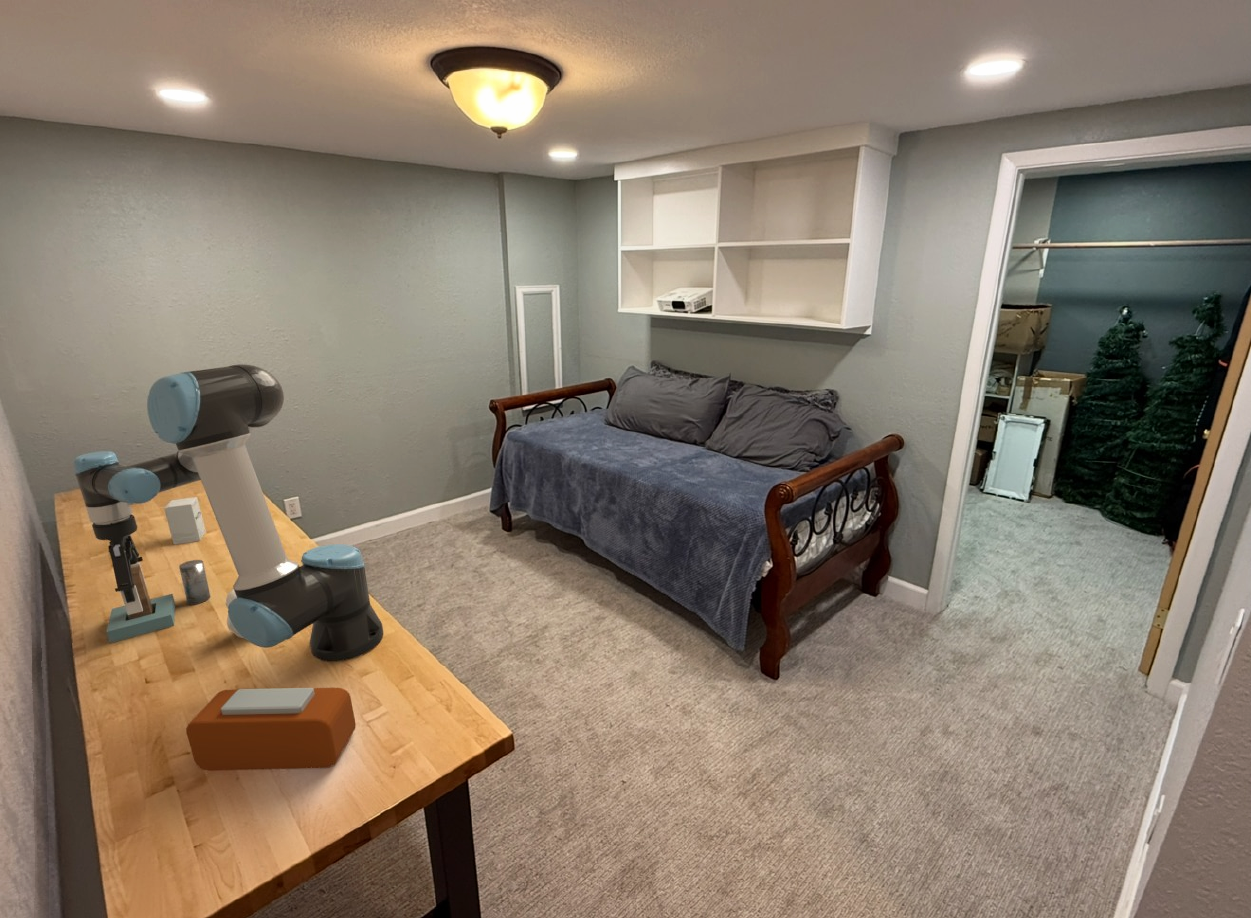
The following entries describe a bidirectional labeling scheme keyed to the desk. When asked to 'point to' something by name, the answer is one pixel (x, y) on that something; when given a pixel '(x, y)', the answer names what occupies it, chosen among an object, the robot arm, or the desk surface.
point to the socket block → (141, 620)
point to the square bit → (141, 593)
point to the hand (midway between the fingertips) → (137, 599)
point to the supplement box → (185, 520)
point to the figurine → (229, 624)
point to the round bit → (194, 581)
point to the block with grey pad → (272, 729)
